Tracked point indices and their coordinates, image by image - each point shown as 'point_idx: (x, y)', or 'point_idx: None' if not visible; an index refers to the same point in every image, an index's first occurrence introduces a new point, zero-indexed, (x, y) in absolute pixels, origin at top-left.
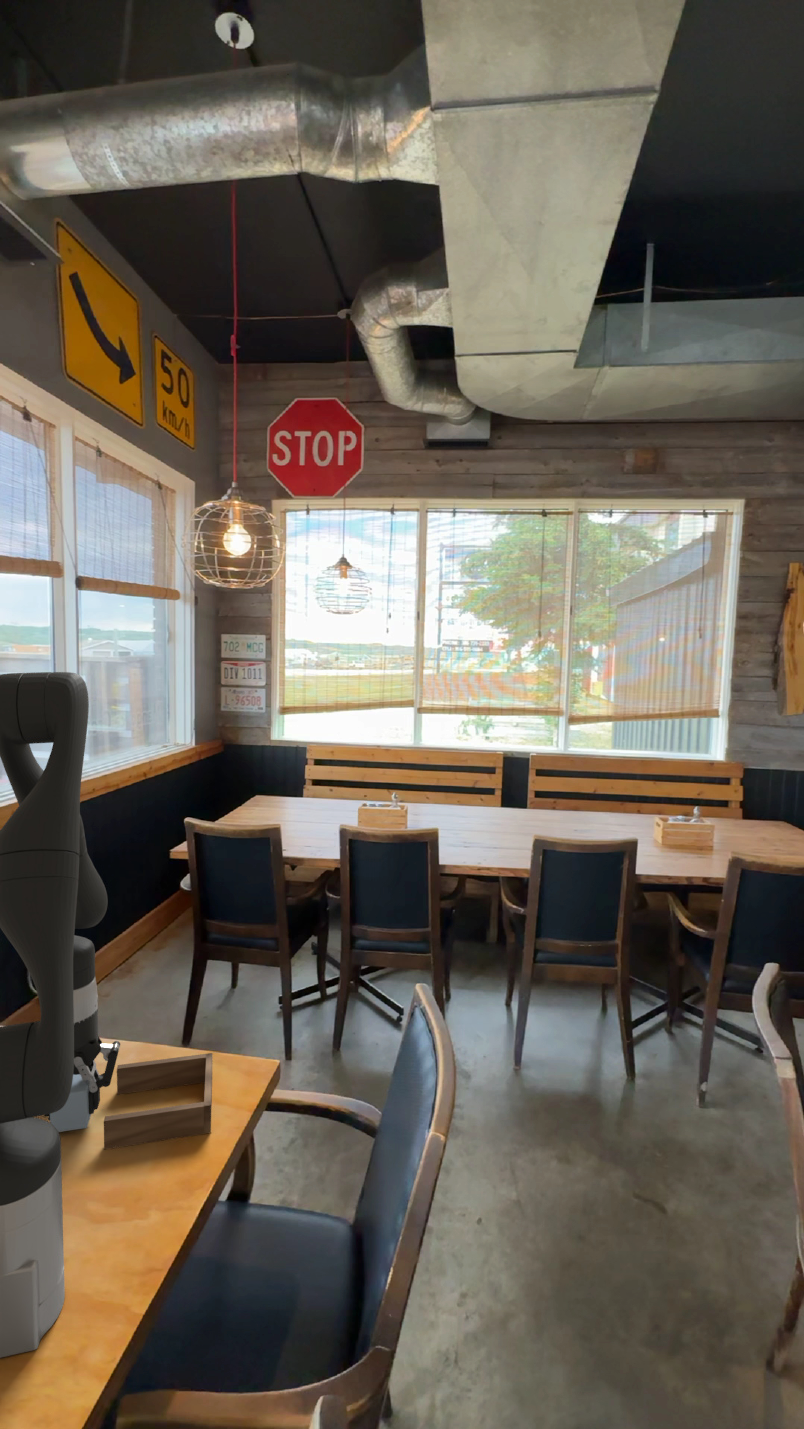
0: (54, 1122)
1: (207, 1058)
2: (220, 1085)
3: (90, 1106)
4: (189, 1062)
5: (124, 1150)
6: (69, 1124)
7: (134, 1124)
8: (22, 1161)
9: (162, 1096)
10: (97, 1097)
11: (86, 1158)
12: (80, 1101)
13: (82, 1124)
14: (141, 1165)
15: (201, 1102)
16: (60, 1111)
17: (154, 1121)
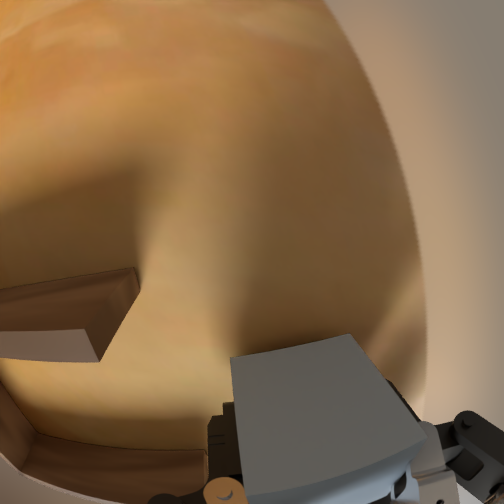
0: (352, 359)
1: (16, 468)
2: None
3: (232, 424)
4: (45, 476)
5: (69, 258)
6: (295, 361)
7: (11, 314)
8: None
9: (89, 428)
10: (210, 454)
11: (182, 227)
12: (269, 444)
13: (246, 364)
14: (11, 193)
15: None
16: (348, 394)
17: None
